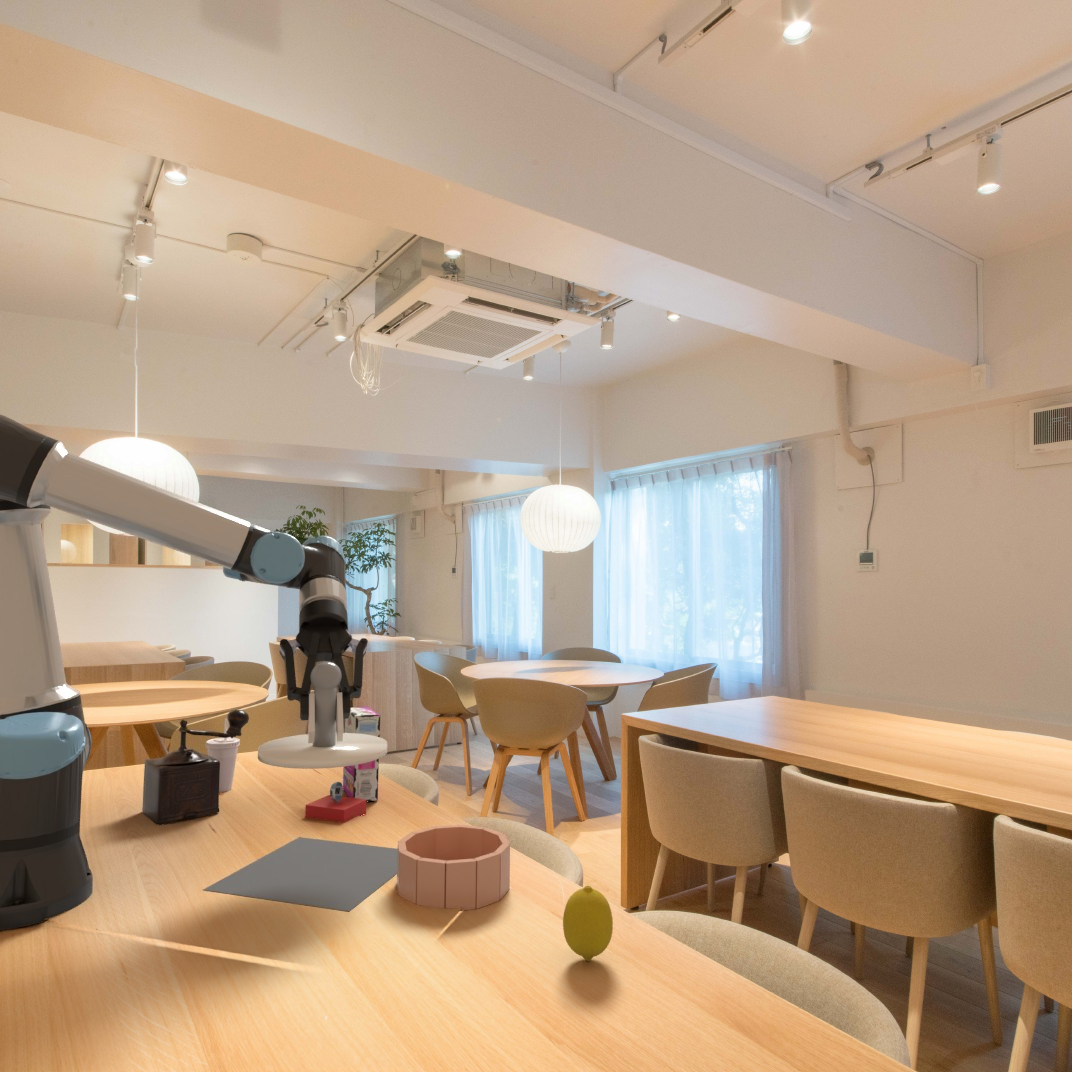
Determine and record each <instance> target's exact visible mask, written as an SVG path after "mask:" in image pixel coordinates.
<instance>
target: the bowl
mask: <svg viewBox="0 0 1072 1072" xmlns="http://www.w3.org/2000/svg"><path fill="white" fill-rule="evenodd" d="M397 849H398V852H397V874H396V887H397V893H398V896H400V897H402V898H403V899H405V900H407V901H409V902H410V903H413V904H414V905H418V906H423V907H424V906H425V907H429V908H430V907H431V908H436V909H437V908H439V909H454V908H460V910H459V911H460V912H461V911H471V910H478V909H480V908H483V907H486V906H488V905H492V904H494V903H496V902H499V901H501V900H502V899H503V898H504V896H505V895H506V894H507V892H508V891H509V890H510V886H511V885H510V884H511V883H510V882H511V880H510V876H511V842H510V841H509V838H507V836H506V834H505V833H502V832H500V831H497V830H495V829H491V828H489V827H486V826H477V825H476V826H475V825H469V824H467V825H466V824H454V825H453V824H451V825H437V826H430V827H427V828H422V829H419V830H418V829H417V830H416V831H411V832H409V833H408V834H407V835H405V836H404V837H402V838H401V839H399V840H398V841H397Z"/></svg>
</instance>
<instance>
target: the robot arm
mask: <svg viewBox="0 0 1072 1072" xmlns="http://www.w3.org/2000/svg"><path fill="white" fill-rule="evenodd" d="M52 508H53V509H56V510H59V511H62V512H65V513H67V514H71V515H74V516H76V517H80V518H81V519H85V520H88V521H91V522H92V523H97V524H99V525H102V526H105V527H108V528H111V529H114V530H117V531H120V532H122V533H125V534H127V535H131V536H134V537H135V538H136V537H137V538H140V539H142V540H145V541H149V542H151V543H153V544H157V545H160V546H162V547H166V548H168V549H172V550H174V551H177V552H179V553H183V554H184V555H185V554H186V555H188V556H191V557H193V558H196V559H197V558H198V559H200V560H203V561H205V562H208V563H211V564H214V565H216V566H220V567H222V572H223V576H225V577H227V578H230V579H234V580H239V581H241V582H251V583H256V584H263V585H271V586H277V587H283V588H287V589H288V588H289V589H295V590H299V597H298V598H299V601H298V602H299V603H298V605H299V606H298V610H299V614H298V617H299V618H298V620H299V621H298V633H297V634H296V636H295V638H294V639H291V640H288V639H287V638H283V639H280V641H279V654H280V656H281V658H282V659H283V661H284V672H285V685H286V696H287V697H286V698H287V700H288V701H291V702H292V701H295V700H296V701H297V702H299V718H300V720H301V721H308V724H307V726H308V728H307V734H308V743H314V736H315V694H314V692H313V693H311V691H312V687H313V685H312V683H311V679H310V675H311V672H312V670H313V668H314V667H315V666H316V665H317V664H318V663H321V662H325V661H328V662H333V663H335V664H336V665H337V666H338V667H339V668H340V670H341V674H342V678H341V682H340V684H339V685H338V687H337V707H336V733H337V742H339V741H342V740H343V733H345V725H344V720H345V719H348V718H349V716H350V711H351V708H352V707H351V700H352V699H360V698H361V696H362V689H363V672H364V670H363V669H364V667H363V666H364V657H365V655H366V653H367V649H368V648H367V647H368V643H369V642H368V639H367V638H364V637H363V638H360V640H359V639H355V638H354V637H353V636H352V633H350V631H349V622H348V621H349V620H348V601H347V589H346V568H347V567H346V566H347V564H346V560H345V554H344V550H343V547H342V545H341V544H340V543H339V541H338V540H336V539H335V538H333V537H331V536H328V535H320V536H319V535H318V536H311V537H308V539H306V540H305V541H304V542H302V544H301V542H300V541H299V540H298V539H297V538H296V537H295V536H293V535H291V534H289V533H286V532H284V531H273V530H271V529H268V528H265V527H263V526H260V525H258V524H255V523H252V522H250V521H248V520H245V519H242V518H241V517H237V516H235V515H232V514H229V513H226V512H224V511H222V510H220V509H216V508H214V507H211V506H209V505H206V504H203V503H200V502H198V501H195V500H193V499H191V498H189V497H185V496H183V495H180V494H177V493H175V492H172V491H169V490H167V489H165V488H162V487H158V486H156V485H154V484H151V483H148V482H146V481H144V480H140V479H138V478H135V477H133V476H130V475H127V474H125V473H122V472H120V471H117V470H115V469H113V468H109V467H107V466H105V465H101V464H99V463H97V462H94V461H91V460H88V459H86V458H84V457H81V456H78V455H75V454H72V453H69V452H68V450H67V448H66V447H65V444H63V442H62V441H60V440H58V439H56V438H53V437H50V436H47V435H45V434H42V433H40V432H38V431H36V430H34V429H32V428H30V427H27V426H26V425H24V424H21V422H17V421H16V420H14V419H12V418H10V417H8V416H6V415H3V414H0V931H5V930H9V929H11V930H12V929H18V928H22V927H28V926H32V925H36V924H41V923H43V922H47V921H48V919H49V918H52V917H56V916H60V915H61V914H64V913H66V912H68V911H70V910H72V909H75V908H77V907H78V906H80V905H81V904H83V903H85V902H86V901H87V900H88V899H89V898H90V897H91V896H92V894H93V886H94V885H93V881H94V877H93V872H92V869H91V868H90V867H89V861H88V859H87V855H86V851H85V849H84V844H83V842H82V840H81V835H80V834H81V831H80V830H81V828H80V827H81V811H82V810H81V809H82V792H83V791H82V790H83V774H84V769H85V766H86V764H87V762H88V761H89V758H90V755H91V749H92V736H91V732H90V729H89V728H88V725H87V723H86V722H85V721H86V720H85V714H84V708H83V704H82V703H83V701H82V698H81V697H82V696H81V692H80V691H79V690H78V689H76V688H74V687H73V686H71V685H69V684H68V683H67V680H66V679H67V678H66V674H65V668H64V661H63V654H62V648H61V644H60V643H61V641H60V636H59V629H58V623H57V617H56V612H55V605H54V599H53V598H54V597H53V593H52V587H51V579H50V573H49V568H48V566H49V565H48V562H47V561H48V560H47V554H46V550H45V549H46V548H45V541H44V536H43V530H42V524H43V522H44V520H46V518H48V516H49V515H50V514H51V513H52V510H51V509H52ZM297 648H298V649H299V651H301V653H303V654H304V656H306V658H307V660H306V664H305V669H304V673H303V678H302V683H301V687H298V686H297V680H296V679H297V678H296V677H297V676H296V667H295V656H294V655H295V654H296V651H297V650H296V649H297ZM349 648H351V652H352V654H353V656H354V661H353V677H352V679H353V680H352V685H350V684H349V680H348V676H347V671H346V668H345V664H344V663H345V662H344V659H343V657H342V656H343V655H344V653H345V652H346V651H347V650H348V649H349Z"/></svg>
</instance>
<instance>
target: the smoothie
mask: <svg viewBox="0 0 1072 1072" xmlns="http://www.w3.org/2000/svg"><path fill="white" fill-rule="evenodd" d="M228 728H229V722H228V719H227V718H225V719H224V731H223V733H226V731H227V730H228ZM240 741H241V739H240V738H237V737H233V738H231V737H228V738H223V737H215V738H212V739H208V740H206V742H205V748H206V749H207V755H208V756H211V757H213V758H215V759H217V760H218V761H220V777H219V793H224V792H228V791H231V790H232V788H233V782H234V776H235V775H234V774H235V768H236V762H237V755H238V751H239V746H240V745H241V742H240Z"/></svg>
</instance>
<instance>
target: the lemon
mask: <svg viewBox="0 0 1072 1072" xmlns="http://www.w3.org/2000/svg"><path fill="white" fill-rule="evenodd" d="M613 924H614V922H613V913H612V909H611V906H610V903H609V901H608V899H607V897H606V896H605V895H604V894H602V893H601V892H600V891H598V889H595V888H592V886H591V885H585V886H584V887H583V888H580V889H577V890H576V891H574V892H573V893H572V894H571V895H570V896H569V898H568V899H567V902H566V904H565V907H564V910H563V917H562V929H563V935H564V938H565V941H566V943H567V945H568V947H569V949H571V951H573V953H575V954H577V955H578V956H580V957H582V958H583V960H584V961H586V962H589V961H591V960H592V959H593V958H594V957H597V956H599V955H601V954H602V953H604V951H605V950H606V949H607V948H608V946H609V944H610V943H611V939H612V936H613V929H614V928H613Z"/></svg>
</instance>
